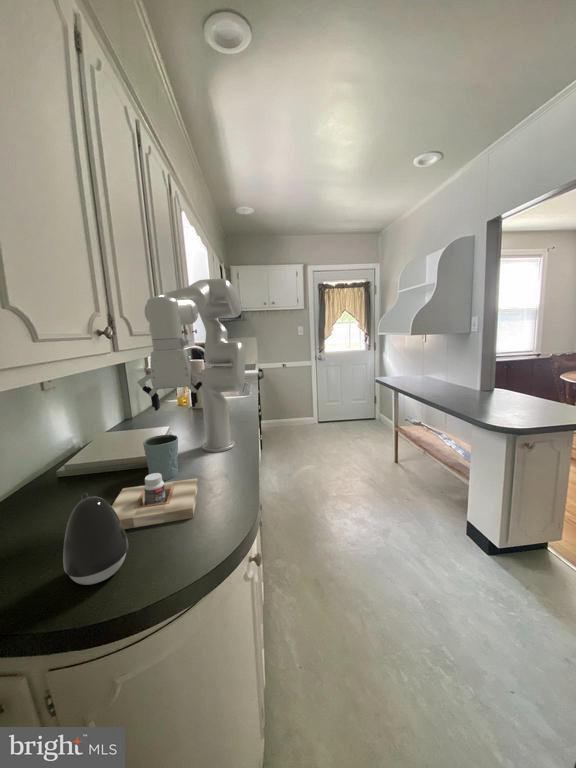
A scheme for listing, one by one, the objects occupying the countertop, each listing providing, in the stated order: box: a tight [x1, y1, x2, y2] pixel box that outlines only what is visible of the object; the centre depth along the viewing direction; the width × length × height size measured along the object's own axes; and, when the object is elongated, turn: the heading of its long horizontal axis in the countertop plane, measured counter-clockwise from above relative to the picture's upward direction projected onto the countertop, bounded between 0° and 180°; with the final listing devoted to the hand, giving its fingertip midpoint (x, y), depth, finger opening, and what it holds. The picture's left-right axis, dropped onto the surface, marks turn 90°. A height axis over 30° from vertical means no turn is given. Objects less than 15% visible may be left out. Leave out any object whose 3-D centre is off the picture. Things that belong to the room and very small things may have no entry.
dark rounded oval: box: [62, 492, 129, 586], centre depth 56 cm, size 10×10×15 cm
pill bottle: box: [143, 473, 167, 505], centre depth 78 cm, size 5×5×8 cm
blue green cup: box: [142, 434, 179, 482], centre depth 95 cm, size 10×10×12 cm
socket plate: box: [111, 477, 199, 530], centre depth 78 cm, size 16×20×3 cm
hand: (176, 407), depth 83 cm, fingers open, 9 cm apart
